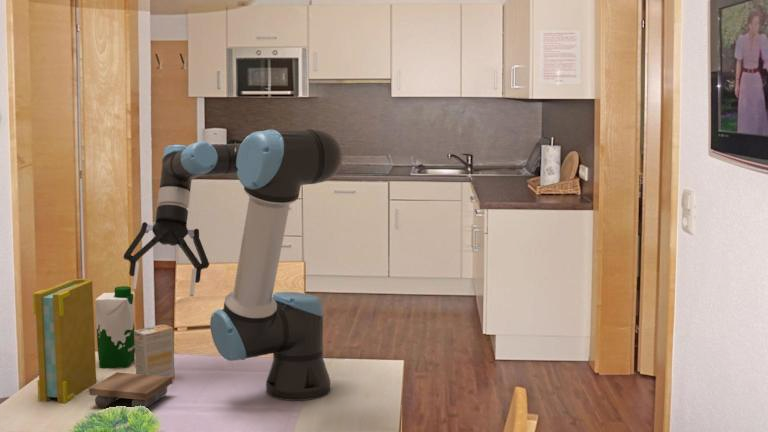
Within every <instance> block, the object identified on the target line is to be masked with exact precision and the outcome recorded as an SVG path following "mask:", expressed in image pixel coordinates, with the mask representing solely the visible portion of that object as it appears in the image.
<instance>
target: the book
mask: <svg viewBox="0 0 768 432" xmlns="http://www.w3.org/2000/svg"><path fill="white" fill-rule="evenodd" d="M32 298H33V299H32V300H33V315H35V320H36V322H35V323H36V343H37V365H38V380H37V401H38V402H45V403H46V402H48V401H50V400H51V399H53V398H57V399H56V400H57V403H58V404H59V403H61V404H66V403H68V402H70V401H71V400H73V399H74V398H75V396H76V395H79V394H80V393H82V392H83V391H84V392H85V390H87V389H89V388H91V387H92V386H94V385H96V384H97V366H96V365H97V364H96V346H95V345H96V343H95V342H96V341H95V340H96V338H95V335H96V334H95V315H94V314H95V313H94V311H95V310H94V290H93V280H92V279H91V278H90V279H89V278H76V279H75V278H74V279H69V280H67V281H64V282H61V283H58V284H57V285H53V286H51V287H49V288H46V289H41V290H38V291H36V292H34V293H32Z"/></svg>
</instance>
